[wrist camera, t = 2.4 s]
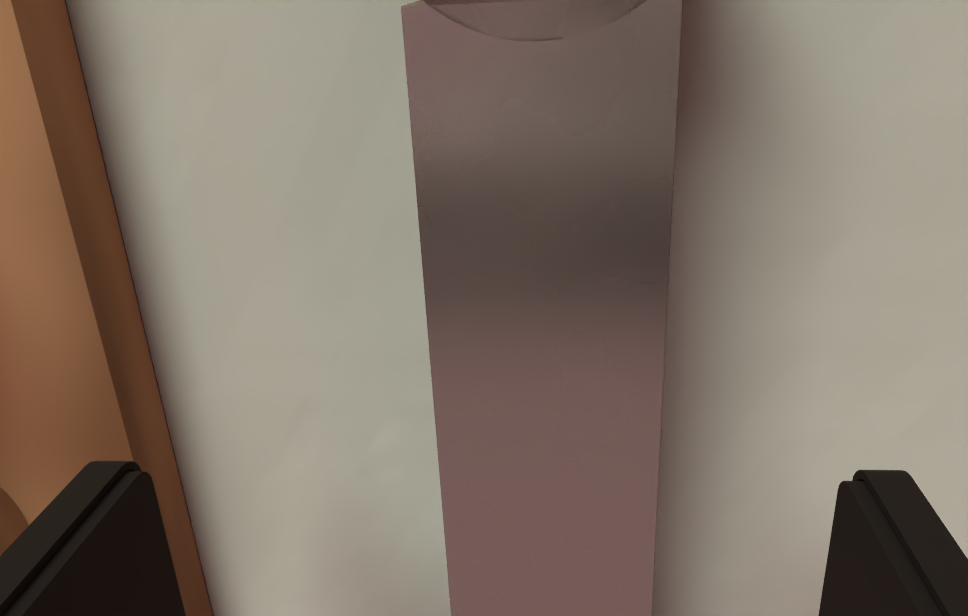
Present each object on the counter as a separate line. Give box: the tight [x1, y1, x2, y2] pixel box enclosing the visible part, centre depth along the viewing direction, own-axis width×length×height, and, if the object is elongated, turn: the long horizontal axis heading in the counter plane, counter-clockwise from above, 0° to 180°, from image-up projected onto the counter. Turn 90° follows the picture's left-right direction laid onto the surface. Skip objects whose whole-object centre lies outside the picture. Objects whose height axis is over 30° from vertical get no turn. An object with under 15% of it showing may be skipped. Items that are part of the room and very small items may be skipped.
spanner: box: [401, 0, 682, 616], centre depth 15 cm, size 5×21×4 cm, turn 3°
